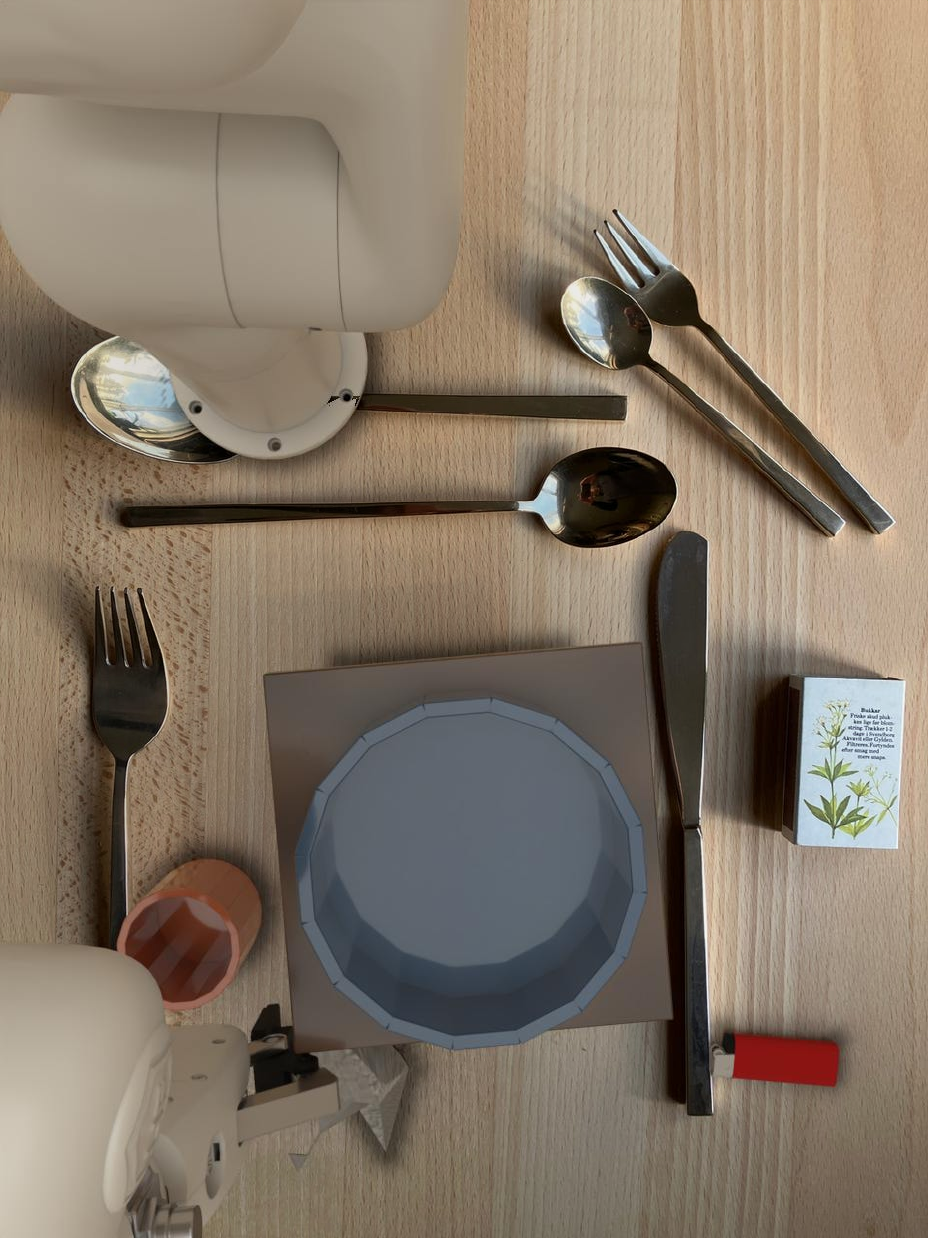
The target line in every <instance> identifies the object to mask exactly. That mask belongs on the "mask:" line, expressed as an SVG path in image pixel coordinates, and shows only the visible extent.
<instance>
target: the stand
mask: <svg viewBox="0 0 928 1238" xmlns="http://www.w3.org/2000/svg"><path fill="white" fill-rule="evenodd" d="M644 659H645V658H644V649H643V643H642V642H641V641H622V642H609V643H599V644H587V645H576V646H575V645H574V646H563V647H562V646H561V647H551V648H540V649H527V650H516V651H504V652H493V653H492V652H491V653H480V654H470V655H469V654H468V655H458V656H457V655H456V656H446V657H444V656H443V657H432V658H422V659H421V658H420V659H409V660H397V661H386V662H373V663H364V664H352V665H349V664H348V665H340V666H329V667H328V666H327V667H315V668H304V669H292V670H291V669H290V670H281V671H280V670H278V671H270V672H266V673H263V674H262V682H263V691H264V692H263V695H264V705H265V718H266V719H265V720H266V729H267V731H266V732H267V739H268V741H267V742H268V752H269V753H268V754H269V765H270V776H271V789H272V790H271V791H272V800H273V801H272V802H273V811H274V812H273V813H274V824H275V825H274V826H275V837H276V845H277V846H276V847H277V848H276V849H277V859H278V870H279V871H278V872H279V882H280V883H279V884H280V895H281V907H282V918H283V929H284V930H283V931H284V941H285V953H286V964H287V966H286V967H287V976H288V989H289V1001H290V1002H289V1003H290V1011H291V1012H290V1013H291V1024H292V1025H291V1026H293V1037H294V1049H295V1054H302V1053H313V1052H324V1051H335V1050H346V1049H357V1048H367V1047H378V1046H389V1045H392V1046H398V1045H409V1044H410V1045H411V1044H421V1043H423V1042H422V1041H419V1040H416V1039H413V1038H410V1037H406V1036H403V1035H400V1034H397V1033H393V1032H390V1031H388V1030H387V1028H386V1029H384V1028H383V1027H382V1026H380V1025H379V1024H378V1023H377V1022H376V1021H374V1020H373V1019H372V1018H371V1017H370V1016H368V1015H367V1014H366V1013H365V1012H364V1011H362V1010H361V1009H360V1008H359V1007H358V1006H356V1005H355V1004H354V1003H353V1002H352V1001H350V1000H349V999H348V998H347V997H346V996H344V995H343V994H342V993H341V992H340V991H338V990H337V989H336V988H335V987H334V985H332V984H331V982H330V980H329V978H328V976H327V974H326V973H325V971H324V969H323V967H322V965H321V963H320V961H319V959H318V957H317V955H316V953H315V951H314V949H313V948H312V946H311V944H310V942H309V940H308V938H307V936H306V934H305V932H304V930H303V928H302V926H301V924H302V923H301V922H300V915H299V903H298V891H297V880H296V868H295V855H296V854H295V851H296V848H297V845H298V842H299V839H300V835H301V832H302V829H303V826H304V823H305V820H306V817H307V813H308V810H309V807H310V804H311V801H312V798H313V795H314V792H315V789H316V788H317V786H318V785H319V783H320V782H321V781H322V779H323V778H324V777H325V775H326V774H327V773H328V771H329V770H330V769H331V767H332V766H333V765H334V764H335V763H336V761H337V760H338V759H339V758H340V757H341V756H342V754H343V753H344V752H345V751H346V750H347V748H348V747H349V746H350V745H351V744H352V743H353V741H354V740H355V739H356V738H357V737H358V735H359V734H360V733H361V732H362V731H363V730H364V728H365V727H366V726H367V725H368V724H369V723H370V722H372V721H374V720H376V719H377V718H379V717H381V716H383V715H385V714H387V713H389V712H391V711H393V710H395V709H397V708H399V707H401V706H403V705H405V704H407V703H408V702H410V701H412V700H414V699H416V698H418V697H420V696H422V695H426V694H432V693H443V692H455V691H467V690H479V689H486V690H487V689H489V690H493V691H496V692H499V693H502V694H505V695H508V696H511V697H515V698H518V699H521V700H524V701H527V702H530V703H534V704H537V705H540V706H543V707H545V708H547V709H549V710H550V711H551V712H552V713H553V714H555V715H556V716H557V717H558V718H559V719H560V720H562V721H563V722H564V723H565V724H566V725H568V726H569V727H570V728H571V729H572V730H573V731H575V732H576V733H577V734H578V735H579V736H581V737H582V738H583V739H584V740H585V741H586V742H588V743H589V744H590V745H591V746H592V747H594V748H595V749H596V750H597V751H598V752H599V753H600V754H602V755H603V756H604V757H605V758H606V759H607V760H608V761H609V762H610V763H611V764H612V766H613V767H614V769H615V771H616V773H617V775H618V777H619V779H620V781H621V783H622V785H623V787H624V789H625V791H626V793H627V795H628V797H629V799H630V801H631V802H632V804H633V806H634V808H635V810H636V812H637V814H638V816H639V818H640V820H641V822H642V823H641V824H642V826H643V835H644V847H645V859H646V871H647V883H648V892H647V893H648V896H647V899H646V902H645V905H644V908H643V911H642V915H641V918H640V921H639V924H638V927H637V930H636V933H635V936H634V940H633V943H632V946H631V949H630V952H629V955H628V958H626V961H625V962H624V963H623V964H622V965H621V967H620V968H619V969H618V970H617V971H616V973H615V974H614V975H613V976H612V977H611V979H610V980H609V981H608V982H607V983H606V985H605V986H604V987H603V988H602V989H601V990H600V992H599V993H598V994H597V995H596V996H595V998H594V999H593V1000H592V1001H591V1002H590V1004H589V1005H588V1006H587V1007H586V1008H585V1010H583V1011H582V1013H580V1014H578V1015H577V1016H575V1017H573V1018H571V1019H569V1020H567V1021H565V1022H563V1023H561V1024H559V1025H557V1026H556V1027H554V1028H552V1029H550V1030H548V1031H547V1032H552V1031H562V1030H563V1031H564V1030H573V1029H583V1028H594V1027H605V1026H606V1027H607V1026H614V1025H615V1026H617V1025H628V1024H629V1025H630V1024H639V1023H640V1024H641V1023H651V1022H660V1021H672V1020H674V1007H673V997H672V996H673V995H672V984H671V971H670V960H669V948H668V937H667V926H666V925H667V924H666V923H667V922H666V912H665V900H664V888H663V878H662V877H663V876H662V866H661V852H660V841H659V840H660V839H659V829H658V827H659V826H658V817H657V806H656V805H657V804H656V803H657V802H656V795H655V793H656V791H655V779H654V769H653V756H652V744H651V733H650V732H651V731H650V720H649V709H648V706H649V705H648V696H647V683H646V672H645V660H644Z"/></svg>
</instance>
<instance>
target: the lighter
mask: <svg viewBox="0 0 928 1238" xmlns="http://www.w3.org/2000/svg"><path fill="white" fill-rule="evenodd" d="M708 1060H709V1061H708V1072H709V1075H710V1077H712V1078H713V1077H715V1078H725V1079H726V1078H727V1079H732V1080H734V1079H735V1080H736V1079H737V1080H746V1081H747V1080H749V1081H761V1082H772V1083H783V1084H794V1085H806V1086H818V1087H829V1088H836V1085H837V1081H838V1074H839V1073H838V1071H839V1062H840V1047H839V1044H838V1043H837V1042H836V1041H829V1040H820V1039H819V1040H818V1039H807V1038H795V1037H794V1038H793V1037H784V1036H783V1037H782V1036H773V1035H761V1034H750V1033H738V1032H737V1033H736V1032H731V1033H730V1032H724V1033H723V1035H722V1040H721V1046H720V1045H719V1044H718V1043H712V1044H711V1045H710V1047H709V1059H708Z"/></svg>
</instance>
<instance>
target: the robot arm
mask: <svg viewBox="0 0 928 1238" xmlns="http://www.w3.org/2000/svg"><path fill="white" fill-rule="evenodd" d="M469 26H470V0H0V94H11V95H10V97H9V98H8V99H7V101H6V103H5V105H4V106H3V108H2V109H1V111H0V227H1V230H2V232H3V234H4V237H5V239H6V241H7V243H8V245H9V247H10V249H11V251H12V253H13V254H14V256H15V258H16V259H17V261H18V263H19V264H20V266H21V267H22V269H23V270H24V271H25V273H26V274H27V275H28V277H29V278H30V279H31V281H32V282H33V283H34V284H35V285H36V286H37V287H38V289H40V291H42V292H43V293H44V294H45V295H46V296H47V297H48V298H49V299H51V300H52V301H53V302H54V304H56V305H58V306H59V307H60V308H62V309H63V310H64V311H66V312H67V313H69V314H70V315H72V316H73V317H75V318H77V319H78V320H81V321H82V322H85V323H86V324H88V325H91V326H92V327H95V328H97V329H99V330H101V331H104V332H106V333H109V334H110V335H111V334H112V335H114V336H116V337H119V338H122V339H124V340H126V341H129V342H131V343H134V344H136V345H138V346H141V347H142V348H143V349H145V350H146V351H147V352H148V353H149V354H150V355H151V356H152V357H153V358H154V359H156V360H157V362H159V363H160V364H161V365H162V366H163V367H164V368H165V369H167V370H168V373H169V381H170V384H171V388H172V387H173V388H172V390H173V393H174V395H175V398H176V400H177V403H178V405H179V406H180V408H181V409H182V411H183V413H184V414H185V416H186V417H187V419H188V420H189V421H190V422H191V424H193V426H195V427H196V429H197V430H198V431H199V432H200V433H201V434H202V435H204V436H205V437H206V438H208V439H209V440H210V441H212V442H213V443H214V444H216V445H218V446H220V447H221V448H223V449H225V450H226V451H229V452H231V453H234V454H237V455H239V456H242V457H245V458H251V459H258V460H284V459H289V458H293V457H297V456H302V455H303V454H306V453H308V452H311V451H313V450H315V449H318V448H319V447H320V446H322V445H324V444H325V443H327V442H328V441H329V440H331V439H332V438H334V437H335V435H337V434H338V432H340V430H341V429H342V428H343V427H345V425H347V423H348V421H349V420H350V418H351V417H352V416H353V414H354V413H355V411H356V409H357V407H358V405H359V403H360V400H361V398H362V396H363V394H364V390H365V387H366V383H367V382H366V381H367V378H368V377H367V376H368V364H369V363H368V361H369V360H368V357H369V355H368V354H369V353H368V349H367V344H366V336H365V334H368V333H370V334H371V333H390V332H398V331H404V330H407V329H410V328H413V327H415V326H417V325H419V324H421V323H423V321H425V320H426V319H428V318H429V317H430V316H431V315H432V314H433V313H434V312H435V311H436V310H437V309H438V307H440V304H441V303H442V301H443V300H444V299H445V296H446V294H447V292H448V290H449V287H450V285H451V282H452V279H453V275H454V272H455V269H456V264H457V260H458V254H459V247H460V240H461V234H462V233H461V232H462V221H463V220H462V219H463V204H464V182H465V181H464V180H465V179H464V178H465V148H466V147H465V144H466V120H467V119H466V117H467V116H466V115H467V87H468V86H467V85H468V84H467V83H468V60H469V59H468V56H469V53H468V52H469ZM364 333H365V334H364ZM346 395H348V396H350V399H349V400H348V401H347V400H344V397H345V396H346ZM331 396H339V397H340V398H338V399H336V400H334V401H332V402H330V403H328V401H329V400H330V398H331ZM353 396H360V397H359V400H358V402H357V404H356V406H355V403H356V399H357V398H356V399H353V400H352V398H353ZM327 403H328V404H327ZM329 405H330V406H329ZM199 407H201V411H200V412H196V408H199ZM275 444H279V448H278V449H274V445H275ZM281 1016H282V1015H281V1007H280V1004H279V1003H277V1002H276V1003H269V1004H266V1007H263V1008H262V1010H261V1012H260V1014H259V1015H258V1018H257V1019H256V1021H255V1023H254V1025H253V1027H252V1028H251V1031H250V1042H248V1036H247V1034H246V1032H244V1031H243V1030H242V1029H240V1028H239V1027H237V1026H235V1025H232V1024H228V1023H199V1024H189V1025H178V1026H169V1024H168V1023H167V1021H166V1019H167V1018H166V1009H164V1002H163V999H162V995H161V991H160V989H159V987H158V985H157V982H156V980H155V979H154V977H153V976H152V975H151V973H150V972H149V971H148V970H147V969H146V968H145V967H144V966H143V965H142V964H141V963H139V962H138V961H136V960H135V959H133V958H131V957H129V956H127V955H125V954H122V953H120V952H117V950H114V949H109V948H107V947H100V946H92V945H84V944H79V943H78V944H77V943H75V944H74V943H56V942H31V941H11V940H10V941H7V940H0V1238H203V1229H204V1228H205V1226H206V1225H207V1224H208V1222H209V1221H210V1220H211V1218H212V1216H213V1215H214V1214H215V1212H216V1211H217V1209H218V1208H219V1206H220V1205H221V1204H222V1202H223V1200H224V1199H225V1197H226V1196H227V1194H228V1193H229V1191H230V1189H231V1187H232V1186H233V1184H234V1182H235V1180H236V1178H237V1177H238V1175H239V1173H240V1171H241V1169H242V1167H243V1165H244V1163H245V1161H246V1159H247V1156H248V1154H249V1152H250V1149H251V1146H252V1144H253V1142H254V1139H256V1138H260V1137H263V1136H266V1135H269V1134H272V1133H276V1132H279V1131H282V1130H285V1129H289V1128H292V1127H296V1126H299V1125H301V1124H305V1123H308V1122H311V1121H314V1120H319V1118H321V1117H325V1116H328V1115H331V1114H334V1113H336V1112H338V1111H339V1110H340V1109H341V1106H340V1095H339V1084H338V1078H337V1076H335V1075H334V1074H333V1073H332V1072H330V1071H329V1070H328V1069H326V1068H325V1067H320V1066H319V1061H318V1057H317V1056H314V1055H311V1054H310V1053H302V1054H295V1049H294V1037H293V1026H292V1025H284V1026H282V1017H281ZM252 1067H253V1068H252ZM251 1068H252V1071H253V1082H254V1093H255V1094H249V1093H248V1086H249V1085H248V1084H249V1079H250V1072H251Z"/></svg>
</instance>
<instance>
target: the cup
mask: <svg viewBox="0 0 928 1238" xmlns="http://www.w3.org/2000/svg"><path fill="white" fill-rule="evenodd" d="M262 917H263V908H262V902H261V898H260V893H259V892H258V889H257V887H256V885H255V884H254V882H253V881H252V880H251V879H250V877H249V876H248V875H247V874H246V873H245V872H244V871H243V870H241V869H240V868H239V867H238V866H236V865H234V864H232V863H230V862H227V861H225V860H220V859H216V858H199V859H194V860H191V861H188V862H186V863H185V862H184V863H183V864H181V865H180V866H178V867H177V868H175V869H173V870H171V871H170V872H169V873H168V874H167V875H165V877H163V878H162V879H161V880H160V881H159V882H158V883H157V884H156V885H155V886H154V887H153V888H152V889H150V891H149V892H148V893H146V894H145V895H144V896H143V897H142V898H141V899H140V900H139V901H138V902H137V903H136V904H135V905H134V907H133V908H132V909H131V911H130V912H129V913H128V914H127V915H126V916H125V917H124V919H123V921H122V924H121V927H120V930H119V934H118V937H117V940H116V951H117V952H120V953H122V954H125V955H127V956H129V957H131V958H133V959H135V960H136V961H138V962H139V963H141V964H142V965H143V966H144V967H145V968H146V969H147V970H148V971H149V972H150V973H151V975H152V976H153V977H154V979H155V980H156V982H157V985H158V987H159V989H160V991H161V995H162V999H163V1002H164V1009H165V1010H168V1011H172V1012H173V1011H175V1012H176V1011H186V1010H187V1011H188V1010H195V1009H199V1008H200V1007H202V1006H205V1005H206V1004H208V1003H210V1002H212V1001H214V1000H215V999H217V998H218V997H219V996H220V995H221V994H222V993H223V992H224V990H225V989H226V988H227V987H228V986H229V985H230V984H231V982H232V981H233V980H234V978H235V977H236V975H237V973H238V971H239V970H240V968H241V967H242V965H243V963H244V961H245V959H246V958H247V955H248V954H249V952H250V951H251V949H252V947H253V946H254V943H255V942H256V940H257V937H258V934H259V931H260V928H261V924H262Z"/></svg>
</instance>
